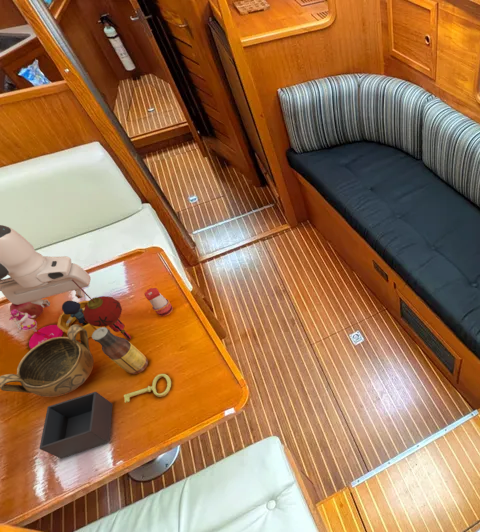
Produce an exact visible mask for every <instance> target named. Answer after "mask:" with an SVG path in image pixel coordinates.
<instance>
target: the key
mask: <svg viewBox="0 0 480 532" xmlns="http://www.w3.org/2000/svg"><path fill="white" fill-rule="evenodd" d="M161 378H164V379H165V380H166V387H165V390H164V391H163V392H161V393H159V392H157V382H158V381H159V379H161ZM171 387H172V380H171V377H170V376H169V375H167V374H166V373H159V374H157V375H156V376H155V377H154V378H153V380H152V385H147V387H145V388H141V389H138V390H135V391H132V392H129V393H126V394H123V398H124V403H125V404H127V403H130V401H131V397H135V396H139V395H141V394H142V395H143V394H144V393H151V392H152V393H153V394H154V395H155V396H156V397H158V398H163V397H166V395H168V394H169V392H170V390H171Z"/></svg>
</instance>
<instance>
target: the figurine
mask: <svg viewBox="0 0 480 532" xmlns="http://www.w3.org/2000/svg"><path fill="white" fill-rule="evenodd" d="M9 315H10V318H9V320H8V321H12V320H13V321H14V325H16V328H17V330H16V333H20V332H21V331H24V332H27V331H33V334H32V336H31V337H30V338H29V341H28V347H29V349H30V350H31V349H32V348H34V347H35V346H37V345H38V344H40V343H42V342H44V341H46V340H48V339H51V338H56V337H63V334H64V332H63V331H62V330H61V329H60V328H59V327H58V326H57V324H49V325H46V326H43V327H41V328H39V329H37V328H38V326H37V325H38V322H37V321H36V319H30V318H34V316H35V317H36V315H34V316H30V315H29V314H28V313H24V312H20V311H18V310H15V309H14V310H12V311H11V312H10V314H9ZM28 317H29V318H28Z"/></svg>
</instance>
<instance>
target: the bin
mask: <svg viewBox="0 0 480 532" xmlns="http://www.w3.org/2000/svg"><path fill="white" fill-rule="evenodd" d="M113 404H114V403H112V402H111V401H110V400H108V399H107V398H105V397H104V396H103V395H102V394H100V393H99V392H98V391H93V392H89V393H86V394H84V395H80V396H76V397H74V398H71V399H70V398H69V399H68V400H64V401H61V402H58V403H54V404H52V405H48V406H47V408H46V414H45V418H44V422H43V423H44V424H43V429H42V433H41V438H40V442H39V448H38V449H39V450H41V451H43V452H46V453H47V454H49V455H52V456H54V457H56V458H59V459H60V460H61V459H62V460H63V459H65V458H67V457H70V456H73V455H77V454H79V453H82V452H85V451H88V450H91V449H94V448H96V447H99V446H100V447H101V446H103V445H105V444H108V443H110V439H111V427H112V416H113V415H112V414H113Z"/></svg>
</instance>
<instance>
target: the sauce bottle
mask: <svg viewBox="0 0 480 532" xmlns="http://www.w3.org/2000/svg"><path fill="white" fill-rule="evenodd" d="M91 338H92V340H93V341H94V342H96V343H98V344H99V345H100V346H101V351H102V353H103V354H104V355H105V356H106V357H108V358H109V359H110V360H111V361H112V362H114V363H115V364H116V365H117V366H119V367H120V368H121V369H122V370H124V371H125V372H126V373H128V374H130V375H137V374H140V373H142V372H144V370H146V369H147V367H148V364H149V359H148V358H147V357H146V355H144V354H143V353H142V352H141V351H140V350H139V349H138V348H137V347H136V346H135V345H134V344H133V343H131V342H130V340H128V339H127V338H125V337H121V336H117V335H115V334H114V333H112V332H111V330H110V329H109V328H107V327H106V326H105V327H101V328H98V329H97V330H95V331H94V332H93V334H92V337H91Z"/></svg>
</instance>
